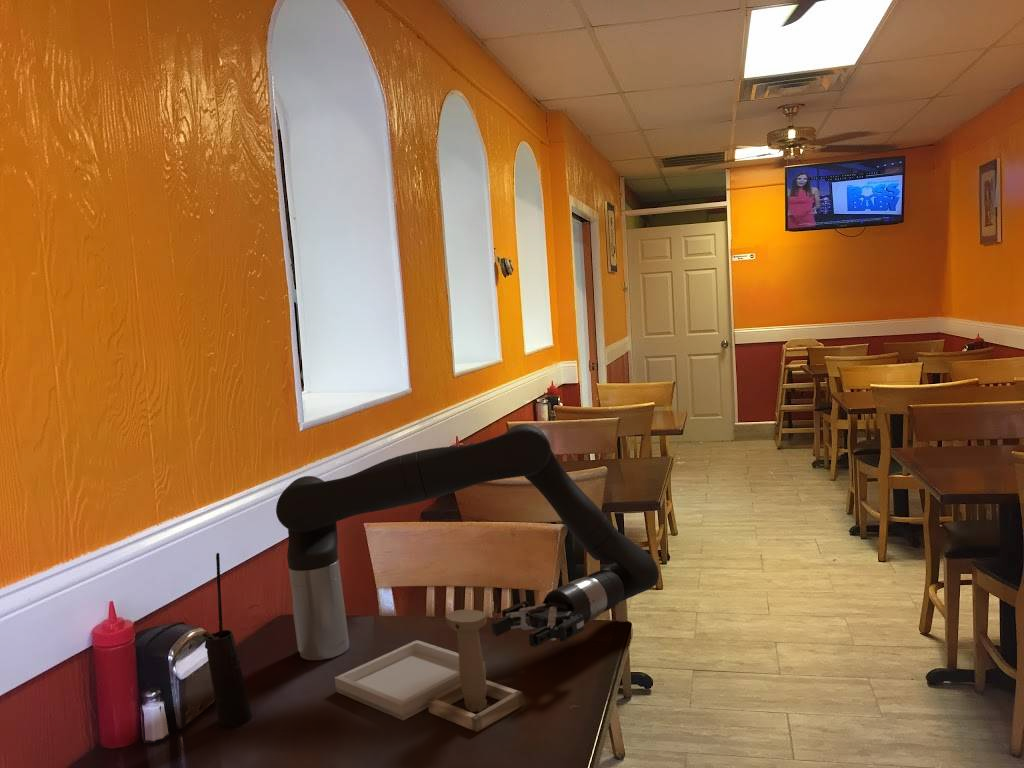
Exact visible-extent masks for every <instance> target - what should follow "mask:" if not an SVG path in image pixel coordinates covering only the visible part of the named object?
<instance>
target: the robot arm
mask: <svg viewBox="0 0 1024 768" xmlns="http://www.w3.org/2000/svg"><path fill="white" fill-rule="evenodd" d="M520 477H521V478H522V477H524V478H526V480H527V481H528V482H530V483H531V484H532V485H533V486H534V487H535V488H536V489H537V490H538V492H540V494H541V495H542V496H543V497H544V498H545V499H546V500H547V502H548V503H549V504H550V506H551V508H553V510H554V511H555V512H556V514H557V515H558V517H559V518H560V520H561V521H562V522H563V524H564V525H565V527H566V528H567V530H568V531H569V532H570V533H571V534H572V536H573V537H574V538H575V539H576V540H577V542H578V543H579V544H580V545H581V547H583V549H584V550H585V551H586V552H587V554H588V555H589V556H590V557H591V558H593V559H594V560H595V561H607V560H608V561H612V562H613V563H612V564H610V565H608V566H606V567H605V568H602V569H600V570H597V571H595V572H592V573H590V574H588V575H585V576H583V577H581V578H577V579H574V580H572V581H570V582H568V583H565V584H563V585H561V586H559V587H557V588H555V589H553V590H551V591H549V592H548V593H547V594H546V595H545V597H544V600H543V601H542V603H537V604H535V605H533V606H529V601H525V600H524V601H521V602H518V603H516V604H514V605H511V606H508V607H507V608H505V609H502V610H501V611H500V612H501V618H500V619H498V620H496V621H494V622H493V623H491V630H492V635H493V636H495V637H499V636H501V635H504V634H505V633H508V632H509V631H511V630H514V629H522V630H523V631H528V630H532V629H536V630H534V631H532V632H530V633H529V634H528V638H529V646H530V647H533V648H536V647H538V646H540V645H543V644H544V643H546V642H548V641H551V642H552V641H556V640H557V639H559V642H562V643H563V642H567V641H568V640H570V639H572V638H573V637H576V636H577V635H578V634H580V633H582V632H583V631H585V625H586V624H587V623H590V622H591V621H594V620H595V619H597V618H598V617H599V616H600V615H602V614H604V613H605V612H607V611H609V610H611V609H613V608H614V607H616V606H617V605H619V603H621V602H623V601H625V600H628V599H630V598H632V597H635V596H637V595H639V594H642V593H644V592H646V591H648V590H650V589H652V588H655V586H656V585H657V584H658V582H659V578H660V574H659V573H660V572H659V568H658V565H657V563H656V560H654V558H653V557H652V555H650V553H649V552H647V551H646V550H645V549H643V547H640V545H638V544H637V543H635V542H633V540H631V539H630V538H628V537H627V536H625V535H624V534H622V533H621V532H619V530H618V529H617V528H616V526H614V524H613V523H612V522H611V520H610V519H608V517H607V516H606V514H605V513H604V512H603V511H602V510H601V509H600V508H599V507H598V506H597V504H595V502H594V501H593V500H592V499H591V498H590V497H589V496H588V495H587V494H586V493H585V492H584V491H583V490H582V489H581V488H580V487H579V486H578V485H577V483H576V482H575V481H574V480H573V479H572V478H571V476H570V475H569V474H568V473H567V471H566V470H565V469H564V468H563V466H562V465H561V463H560V462H559V461H558V458H557V457H556V455H555V454H554V452H553V451H552V447H551V444H550V441H549V440H548V438H547V436H546V434H544V432H543V431H542V430H541V429H539V427H537V426H534V425H532V424H528V423H522V424H521V423H520V424H516V425H514V426H511V427H510V428H509V429H508V430H506V431H505V433H503V434H501V435H498V436H497V435H496V436H495V437H491V438H489V439H486V440H482V441H480V442H476V443H471V444H466V445H455V446H444V447H433V448H427V449H423V450H418V451H413V452H409V453H406V454H400V455H397V456H394V457H392V458H388V459H386V460H383V461H381V462H378V463H376V464H374V465H371V466H369V467H367V468H365V469H361V470H360V471H359V472H357V473H354V474H351V475H348V476H344V477H341V478H336V479H331V480H323V479H322V478H319V477H317V476H314V475H313V476H312V475H305V476H302V477H299V478H297V479H295V480H293V481H292V482H291V483H290V484H289V485H288V486H287V487H286V488H285V489H283V491H282V492H281V494H280V496H279V497H278V500H277V502H276V508H275V512H276V513H275V514H276V516H277V517H276V518H277V519H278V521H279V523H280V524H281V525H282V526H283V527H284V528H286V529H287V533H288V541H287V542H288V543H287V546H288V547H287V552H286V553H287V554H286V559H287V566H288V572H289V580H290V581H289V582H290V586H291V594H292V605H291V606H292V614H293V622H294V629H295V636H296V644H297V650H298V652H299V656H300V657H301V659H304V660H307V661H323V660H328V659H333V658H335V657H338V656H340V655H343V654H344V653H346V652H347V650H348V649H349V648H350V642H349V641H350V639H349V632H348V624H347V615H346V614H347V613H346V608H345V601H344V593H343V592H344V591H343V584H342V576H341V569H340V559H339V552H338V551H339V550H338V545H339V543H338V542H339V541H338V540H339V536H338V526H337V522H340V521H342V520H345V519H348V518H351V517H354V516H359V515H363V514H367V513H373V512H380V511H385V510H389V509H395V508H399V507H403V506H408V505H412V504H416V503H420V502H424V501H428V500H433V499H435V498H440V497H443V496H446V495H448V494H449V495H450V494H452V493H455V492H459V491H462V490H464V489H467V488H469V487H473V486H475V485H479V484H483V483H487V482H493V481H499V480H507V479H511V478H512V479H513V478H520ZM527 618H528V619H529V620H528V621H529V623H526V622H527V621H526V619H527Z"/></svg>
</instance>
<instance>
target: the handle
mask: <svg viewBox="0 0 1024 768" xmlns="http://www.w3.org/2000/svg"><path fill="white" fill-rule="evenodd" d="M445 621H446V625H447V626H448V627H449V628H451V629H452V630H453V631H455V632H456V635H457V636H456V638H457V648H458V649H457V650H458V653H459V671H460V681H461V687H462V692H463V697H464V698H463V700H464V706H465V710H467V711H468V712H471V713H474V712H475V713H476V712H478V713H480V712H482V711H483V710H485V709H487V699H486V697H487V695H486V680H487V678H486V677H487V675H486V676H485V668H484V662H485V661H484V658H483V651H482V645H481V641H480V640H481V639H480V632H479V631H480V630H481V628H483V627H484V626H485V625H486V624H487V623H488V620H487V613H485V612H484V611H481V610H477V609H476V610H475V609H457V610H453V611H451V612H449V613H448V614H447V615H446V616H445ZM483 661H484V662H483Z"/></svg>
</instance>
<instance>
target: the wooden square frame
mask: <svg viewBox="0 0 1024 768" xmlns="http://www.w3.org/2000/svg"><path fill="white" fill-rule="evenodd" d="M486 697H490V698H491V699H492V698H493V699H495V700H499V701H497V702H496V703H494V704H492V705H490V706H489V707H486V708H485V709H483V710H482V711H481V712H478V713H476V714H475V713H474V712H469V710H467V709H463V708H460V707H457V706H456V705H453V704H454V703H456V702H458V701H460V700H462V699H464V697H463V692H462V687H461V683H459V684H458V685H456V686H454V687H452V688H450V689H448V690H446V691H444V692H442V693H440V694H439V695H437V696H435V697H433V698H431V699H429V700H428V707H427V708H428V713H430V714H431V715H434V716H437V717H439V718H442V719H444V720H447V721H449V722H452V723H454V724H457V725H459V726H461V727H464V728H466V729H469V730H472V731H474V732H476V733H478V732H480V731H482V730H483V729H485V728H487V727H488V726H490V725H492V724H493V723H496V722H497V721H499V720H501V719H502V718H503V717H506V716H507V715H509V714H510V713H512V712H514V711H515V710H517V709H519V708H521V707H522V706H524V705H525V704H524V703H525V702H524V694H523V691H520V690H517V689H514V688H512V687H507V686H505V685H502V684H499V683H497V682H493V681H491V680H488V679H486Z"/></svg>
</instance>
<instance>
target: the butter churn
mask: <svg viewBox="0 0 1024 768" xmlns="http://www.w3.org/2000/svg"><path fill="white" fill-rule="evenodd" d="M215 561H216V581H217V582H216V585H217V607H218V621H219V622H218V631H217V632H212V633H210V632H209V631H204V632H203V634H202V637H204V638H205V643H206V645H205V647H206V650H207V651H206V655H207V661H208V665H209V672H210V678H211V683H212V689H213V695H214V696H213V699H214V701H215V707H216V713H217V718H218V723H219V724H220V726H221V727H223V728H225V729H227V728H228V729H229V728H236V727H239V726H241V725H243V724H245V723H247V722H248V721H250V720H251V719H252V716H253V714H252V709H251V706H250V702H249V697H248V694H247V689H246V686H245V685H246V683H245V680H244V677H243V676H244V675H243V672H242V667H241V662H240V660H239V655H238V649H237V645H236V641H235V636H234V634H233V631H231V630H230V629H224V627H223V612H222V611H223V609H222V592H221V590H222V589H221V565H220V563H221V561H220V552H217V553H216V554H215Z"/></svg>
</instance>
